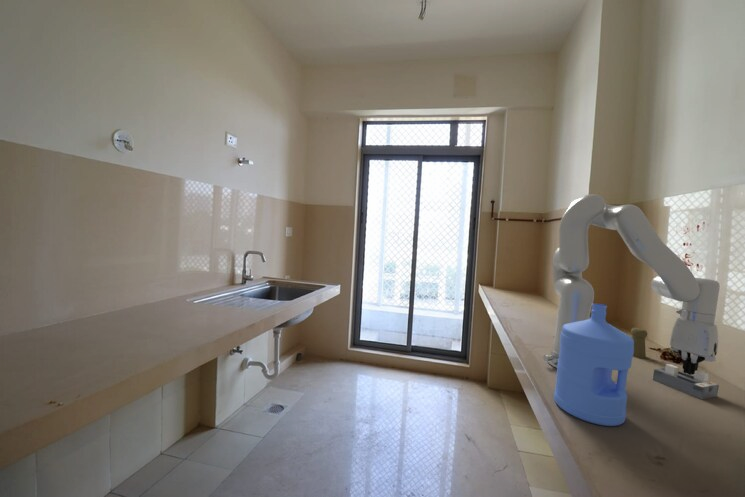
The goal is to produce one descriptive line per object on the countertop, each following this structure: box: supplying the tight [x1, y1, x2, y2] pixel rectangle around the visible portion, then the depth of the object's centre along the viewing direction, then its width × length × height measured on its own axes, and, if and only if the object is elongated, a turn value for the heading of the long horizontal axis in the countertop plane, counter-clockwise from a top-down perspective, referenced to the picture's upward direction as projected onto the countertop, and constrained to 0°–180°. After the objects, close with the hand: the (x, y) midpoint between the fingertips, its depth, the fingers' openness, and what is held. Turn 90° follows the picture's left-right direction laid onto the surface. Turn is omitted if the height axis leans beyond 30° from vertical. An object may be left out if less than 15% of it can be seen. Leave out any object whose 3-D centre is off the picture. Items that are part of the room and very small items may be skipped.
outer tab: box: [693, 369, 709, 383], centre depth 100 cm, size 2×2×4 cm
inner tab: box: [664, 363, 680, 377], centre depth 103 cm, size 2×2×4 cm
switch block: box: [652, 367, 720, 400], centre depth 102 cm, size 8×12×4 cm, turn 19°
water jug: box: [553, 303, 634, 427], centre depth 84 cm, size 16×16×28 cm
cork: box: [630, 327, 648, 359], centre depth 129 cm, size 6×6×11 cm
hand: (689, 373), depth 103 cm, fingers closed
